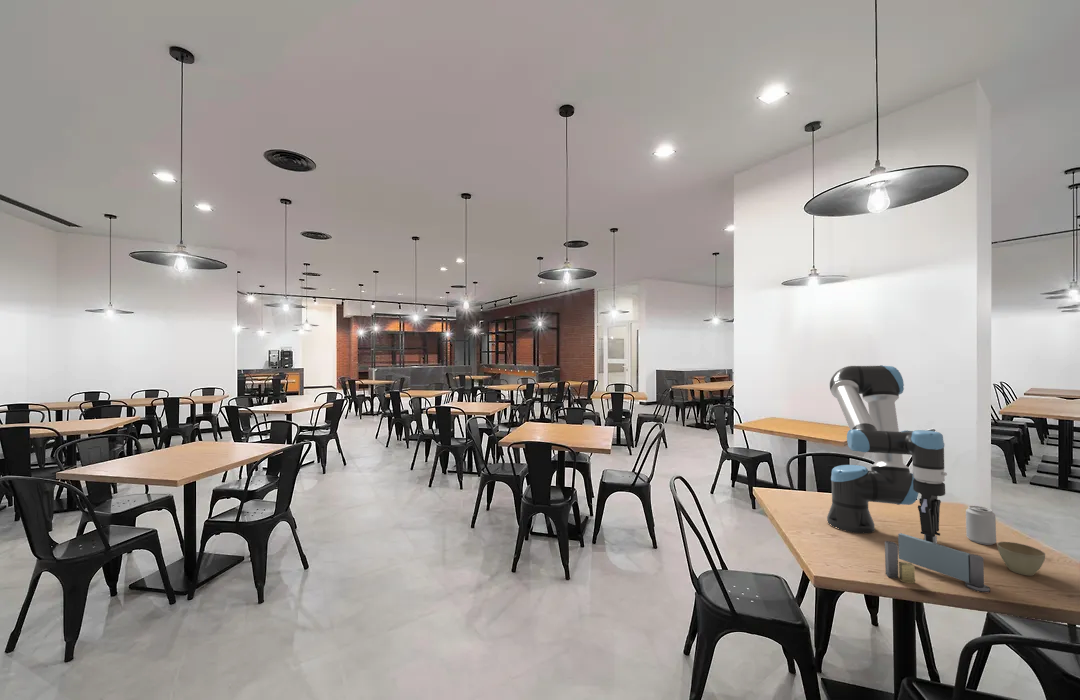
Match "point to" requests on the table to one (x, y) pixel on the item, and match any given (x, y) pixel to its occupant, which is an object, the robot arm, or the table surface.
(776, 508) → the table surface
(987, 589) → the hinge flange
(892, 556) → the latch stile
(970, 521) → the can
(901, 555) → the gate
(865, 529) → the robot arm
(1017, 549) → the olive beige bowl
